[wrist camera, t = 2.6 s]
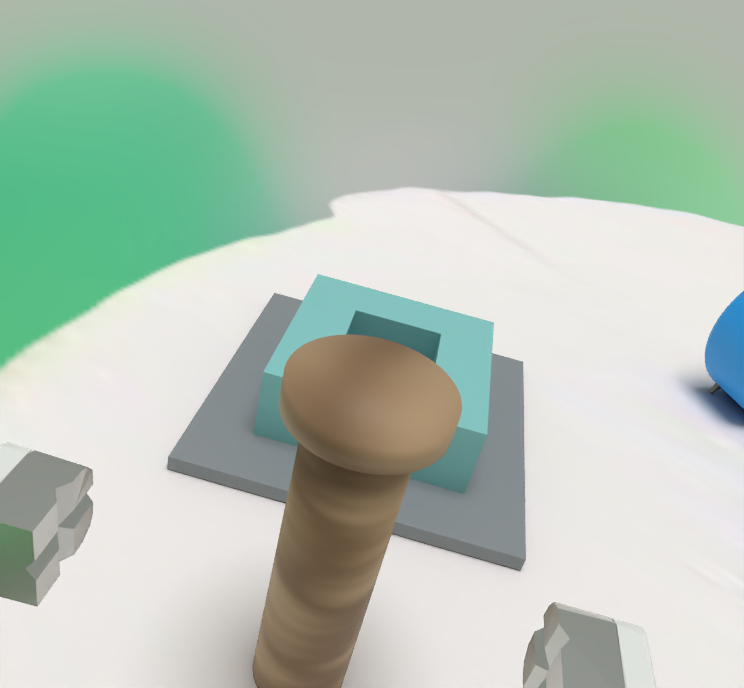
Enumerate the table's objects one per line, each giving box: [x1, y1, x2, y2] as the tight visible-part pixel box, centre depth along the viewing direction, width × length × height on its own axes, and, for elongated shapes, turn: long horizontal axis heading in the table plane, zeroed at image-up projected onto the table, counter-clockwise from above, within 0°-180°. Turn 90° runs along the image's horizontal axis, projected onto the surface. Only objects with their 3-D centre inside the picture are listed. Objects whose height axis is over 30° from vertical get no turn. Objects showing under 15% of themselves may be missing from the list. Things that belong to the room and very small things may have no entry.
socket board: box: [167, 274, 526, 570], centre depth 50 cm, size 22×22×6 cm
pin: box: [253, 334, 462, 688], centre depth 30 cm, size 6×6×17 cm
